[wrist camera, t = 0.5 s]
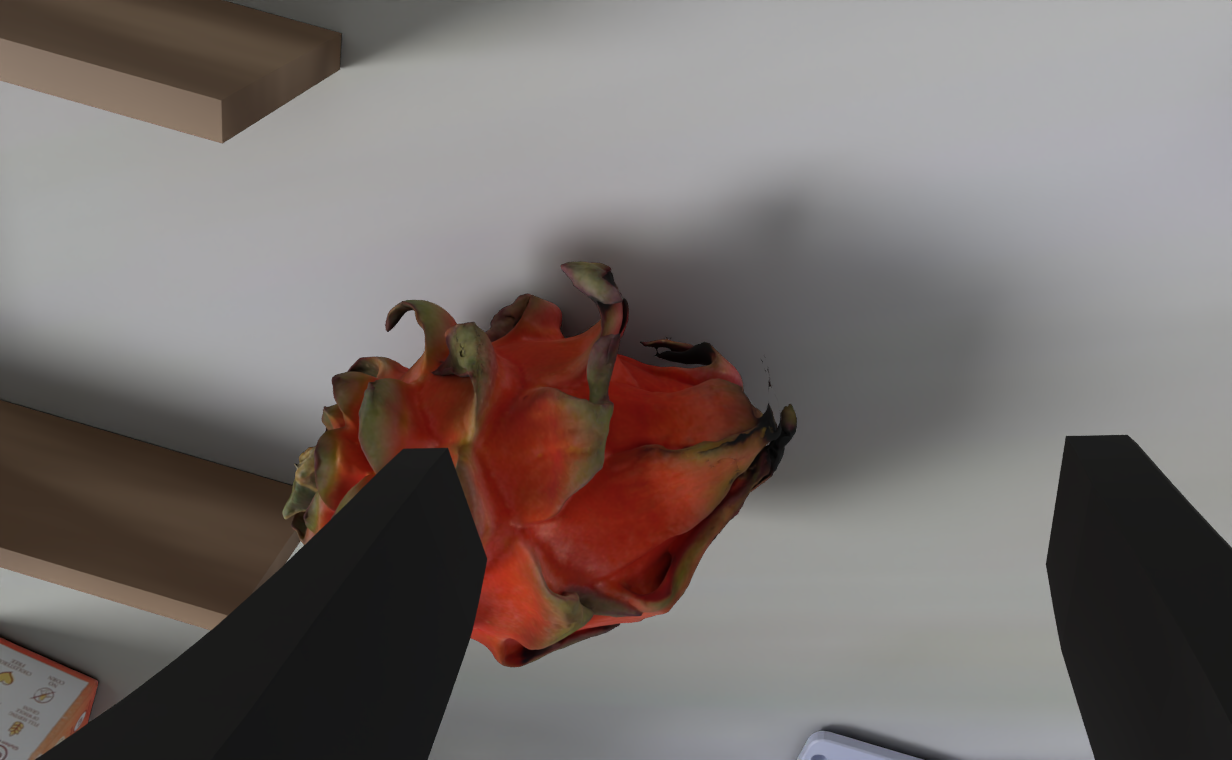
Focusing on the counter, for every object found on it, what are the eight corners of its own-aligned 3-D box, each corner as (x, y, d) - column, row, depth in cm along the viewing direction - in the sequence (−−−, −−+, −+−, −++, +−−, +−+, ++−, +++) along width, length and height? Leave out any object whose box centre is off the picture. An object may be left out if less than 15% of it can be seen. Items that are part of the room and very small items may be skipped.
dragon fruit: (354, 361, 27) (763, 273, 26) (398, 656, 26) (827, 588, 25) (165, 319, 19) (752, 184, 17) (220, 748, 18) (848, 656, 16)
